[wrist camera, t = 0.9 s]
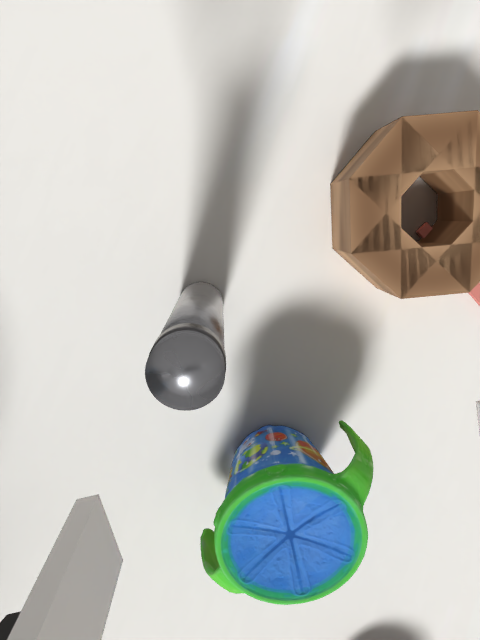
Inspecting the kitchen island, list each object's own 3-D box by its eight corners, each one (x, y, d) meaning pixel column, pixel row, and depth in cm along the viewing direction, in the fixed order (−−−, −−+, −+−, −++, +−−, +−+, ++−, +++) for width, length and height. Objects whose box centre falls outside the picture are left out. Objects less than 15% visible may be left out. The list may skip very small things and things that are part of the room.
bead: (333, 291, 35) (352, 303, 30) (328, 135, 32) (347, 121, 27) (476, 278, 35) (518, 288, 30) (484, 122, 32) (531, 105, 27)
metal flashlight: (181, 327, 35) (150, 415, 20) (175, 283, 34) (138, 338, 19) (225, 323, 35) (229, 407, 20) (221, 279, 34) (221, 330, 19)
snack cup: (237, 543, 40) (243, 649, 30) (169, 465, 38) (151, 552, 28) (376, 455, 39) (429, 536, 29) (313, 367, 36) (348, 423, 27)
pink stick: (415, 231, 34) (418, 231, 34) (424, 222, 34) (428, 222, 33) (502, 332, 36) (506, 333, 36) (511, 324, 36) (515, 325, 36)
